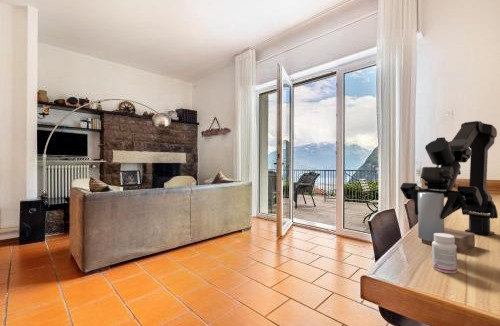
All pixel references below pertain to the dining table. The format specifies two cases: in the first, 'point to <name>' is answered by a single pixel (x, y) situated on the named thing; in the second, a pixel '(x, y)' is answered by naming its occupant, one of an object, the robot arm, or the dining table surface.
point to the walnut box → (459, 239)
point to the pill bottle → (444, 253)
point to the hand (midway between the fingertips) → (428, 216)
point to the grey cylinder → (430, 214)
